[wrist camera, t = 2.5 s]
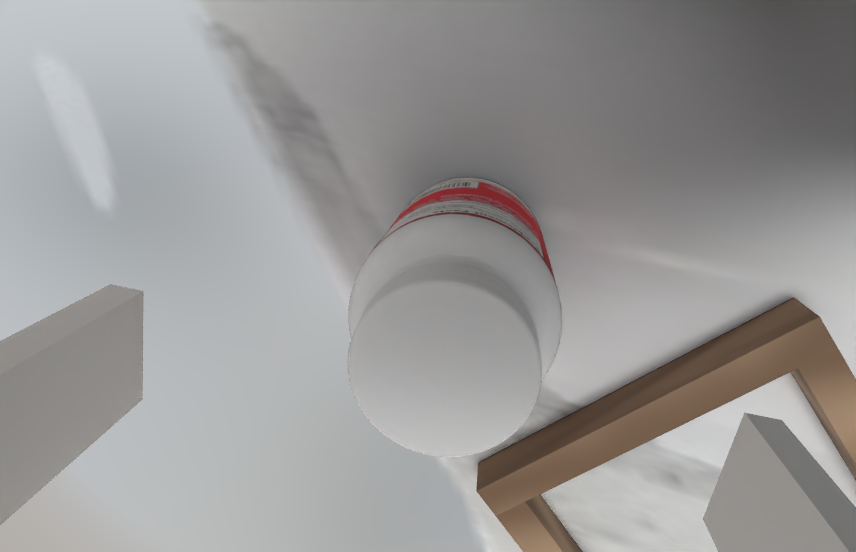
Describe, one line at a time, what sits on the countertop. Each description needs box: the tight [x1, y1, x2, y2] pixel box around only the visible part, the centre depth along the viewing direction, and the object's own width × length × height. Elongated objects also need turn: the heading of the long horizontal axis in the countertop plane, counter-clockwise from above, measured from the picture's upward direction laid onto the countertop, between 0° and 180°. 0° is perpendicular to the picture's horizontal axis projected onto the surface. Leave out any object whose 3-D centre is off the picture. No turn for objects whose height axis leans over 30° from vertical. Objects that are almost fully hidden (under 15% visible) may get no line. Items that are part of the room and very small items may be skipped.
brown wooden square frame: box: [477, 298, 856, 552], centre depth 26 cm, size 15×15×2 cm
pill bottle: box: [348, 178, 562, 457], centre depth 19 cm, size 6×6×11 cm
